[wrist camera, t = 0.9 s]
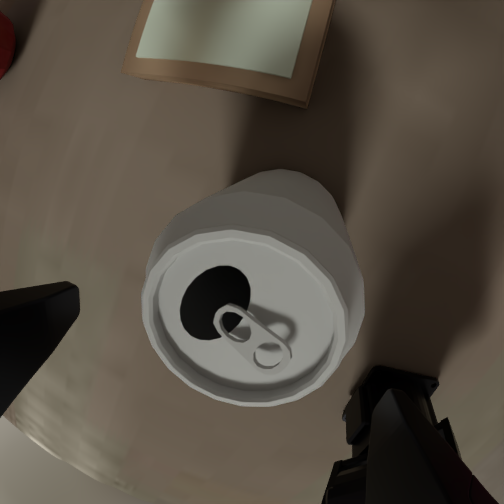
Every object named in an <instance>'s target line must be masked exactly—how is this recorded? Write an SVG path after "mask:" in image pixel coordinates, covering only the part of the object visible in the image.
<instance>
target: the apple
mask: <svg viewBox="0 0 504 504" xmlns="http://www.w3.org/2000/svg"><path fill="white" fill-rule="evenodd" d="M15 46H16V39H15V33H14V28H13V24H12V22H11V21H10V19H9V18H8V17H7V16H5V15H4V14H3V13H2V12H1V11H0V80H1V78H2V77H3V76H4V74H5V73H6V72H7V70H8V68H9V67H10V65H11V63H12V59H13V56H14V52H15Z"/></svg>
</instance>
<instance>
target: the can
mask: <svg viewBox="0 0 504 504" xmlns="http://www.w3.org/2000/svg"><path fill="white" fill-rule="evenodd" d="M141 304H142V321H143V324H144V326H145V329H146V332H147V334H148V337H149V340H150V342H151V345H152V347H153V348H154V350H155V351H156V352H157V354H158V355H159V357H160V358H161V359H162V361H163V362H164V363H165V365H166V366H167V367H168V369H169V370H171V371H172V372H173V373H174V374H175V375H177V376H178V377H179V378H180V379H181V380H182V381H184V382H185V383H186V384H187V385H189V386H190V387H191V388H193V389H195V390H197V391H199V392H201V393H203V394H205V395H207V396H209V397H211V398H213V399H215V400H219V401H223V402H227V403H231V404H235V405H239V406H264V407H268V406H275V405H279V404H284V403H288V402H291V401H295V400H298V399H300V398H302V397H304V396H306V395H307V394H309V393H311V392H312V391H314V390H316V389H317V388H319V387H321V386H322V385H323V384H324V383H325V382H326V380H327V379H328V378H329V377H330V376H331V375H332V374H333V372H334V371H335V370H336V369H337V368H338V366H339V365H340V362H341V360H342V359H343V357H344V356H345V355H346V354H347V352H348V351H349V350H350V349H351V347H352V346H353V345H354V344H355V341H356V338H357V335H358V333H359V330H360V327H361V324H362V321H363V318H364V315H365V304H364V280H363V277H362V274H361V271H360V268H359V265H358V262H357V259H356V255H355V252H354V250H353V247H352V244H351V241H350V238H349V235H348V232H347V229H346V226H345V224H344V221H343V218H342V215H341V213H340V211H339V209H338V207H337V204H336V202H335V200H334V198H333V196H332V195H331V194H330V193H329V192H328V191H327V190H326V189H325V188H324V187H323V186H322V185H321V184H320V183H319V182H318V181H316V180H314V179H312V178H311V177H309V176H307V175H305V174H303V173H301V172H297V171H291V170H285V169H276V170H269V171H263V172H259V173H257V174H255V175H253V176H250V177H248V178H246V179H244V180H242V181H240V182H238V183H236V184H233V185H231V186H229V187H227V188H225V189H223V190H221V191H219V192H217V193H215V194H213V195H211V196H209V197H207V198H205V199H203V200H201V201H200V202H198V203H196V204H194V205H193V206H191V207H189V208H187V209H186V210H184V211H182V212H180V213H179V214H177V215H176V216H175V217H174V218H173V219H172V220H171V222H170V223H169V224H168V225H167V226H166V228H165V229H164V230H163V231H162V233H161V234H160V235H159V236H158V238H157V239H156V240H155V243H154V246H153V249H152V252H151V255H150V258H149V261H148V264H147V267H146V280H145V283H144V286H143V289H142V292H141Z"/></svg>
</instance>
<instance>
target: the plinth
mask: <svg viewBox="0 0 504 504" xmlns="http://www.w3.org/2000/svg"><path fill="white" fill-rule="evenodd" d="M335 1H336V0H144V1H143V3H142V6H141V9H140V12H139V14H138V17H137V20H136V23H135V26H134V29H133V32H132V35H131V39H130V42H129V45H128V48H127V52H126V55H125V59H124V62H123V66H122V70H121V73H124V74H128V75H131V76H135V77H138V78H141V79H145V80H155V81H164V82H173V83H181V84H189V85H196V86H202V87H209V88H215V89H221V90H226V91H232V92H237V93H242V94H247V95H252V96H256V97H261V98H265V99H270V100H274V101H278V102H282V103H286V104H290V105H294V106H298V107H301V108H305V109H307V108H308V104H309V100H310V97H311V93H312V89H313V85H314V82H315V78H316V74H317V70H318V67H319V63H320V59H321V55H322V52H323V48H324V44H325V40H326V36H327V33H328V29H329V25H330V21H331V17H332V13H333V9H334V5H335Z"/></svg>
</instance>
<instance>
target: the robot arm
mask: <svg viewBox="0 0 504 504" xmlns="http://www.w3.org/2000/svg"><path fill="white" fill-rule="evenodd" d="M79 313H80V299H79V288H78V287H77V286H76V285H75V284H72V283H70V282H68V281H63V282H57V283H51V284H45V285H39V286H33V287H27V288H20V289H14V290H8V291H2V292H0V418H1V416H2V415H3V414H4V412H5V411H6V410H7V408H8V407H9V406H10V404H11V403H12V402H13V401H14V399H15V398H16V397H17V395H18V394H19V393H20V392H21V390H22V389H23V388H24V387H25V385H26V384H27V383H28V382H29V380H30V379H31V378H32V377H33V376H34V374H35V373H36V372H37V371H38V369H39V368H40V367H41V366H42V365H43V363H44V362H45V361H46V360H47V359H48V358H49V356H50V355H51V354H52V353H53V351H54V350H55V348H56V347H57V346H58V344H59V343H60V341H61V340H62V338H63V337H64V336H65V334H66V333H67V331H68V330H69V328H70V327H71V326H72V324H73V323H74V322H75V320H76V319H77V317H78V315H79ZM377 371H380V372H379V373H376V372H377ZM432 384H433V385H432ZM438 386H439V381H438V379H437V378H433V377H428V376H424V375H419V374H414V373H410V372H405V371H401V370H396V369H392V368H387V367H383V366H375V367H373V368H372V370H371V371H370V373H369V375H368V376H367V378H366V379H365V381H364V383H363V384H362V386H360V387H358V388H357V390H356V392H355V393H354V395H353V396H352V398H351V399H350V401H349V402H348V404H347V405H346V410H345V412H344V413H343V415H342V420H343V421H345V422H346V441H347V443H348V444H349V445H352V458H350V459H347V460H340V461H336V462H334V465H333V469H332V472H331V475H330V478H329V481H328V484H327V487H326V490H325V493H324V496H323V500H322V503H321V504H499V503H498V502H497V501H496V500H495V499H494V498H493V497H492V496H491V495H490V494H489V492H488V491H487V490H486V489H485V488H484V487H483V485H482V484H481V483H480V482H479V481H478V479H477V478H476V477H475V476H474V475H472V472H471V471H470V470H469V468H468V467H467V466H466V465H465V463H464V462H463V461H462V458H461V455H460V451H459V448H458V445H457V442H456V439H455V436H454V433H453V431H452V428H451V425H450V422H449V420H448V417H447V418H445V419H443V420H441V422H440V423H438V422H437V419H436V416H435V412H434V409H433V406H432V403H431V400H430V397H431V395H432V394H433V393H434V391H435V390H436V389H437V387H438Z"/></svg>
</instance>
